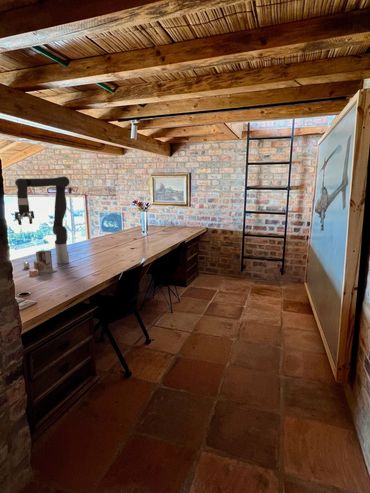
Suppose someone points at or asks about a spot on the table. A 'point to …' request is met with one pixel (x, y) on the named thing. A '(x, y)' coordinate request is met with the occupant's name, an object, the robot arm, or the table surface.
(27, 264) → the steel cylinder
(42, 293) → the table surface
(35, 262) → the walnut block
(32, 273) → the terracotta block
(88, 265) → the table surface
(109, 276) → the table surface
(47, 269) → the coffee box
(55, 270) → the slate mat
